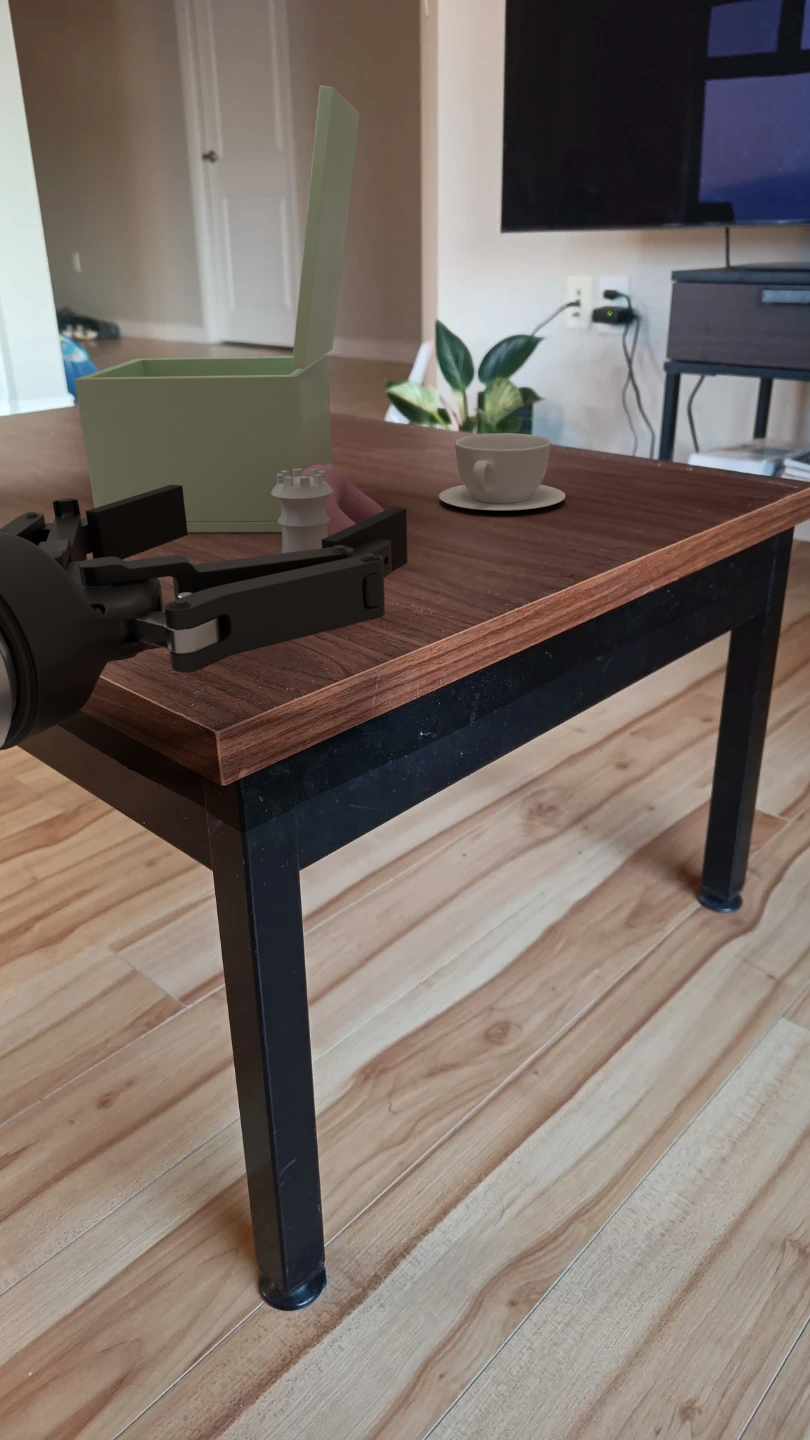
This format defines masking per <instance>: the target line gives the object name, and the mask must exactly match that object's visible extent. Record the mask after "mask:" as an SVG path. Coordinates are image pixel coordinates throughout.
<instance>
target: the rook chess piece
mask: <svg viewBox="0 0 810 1440" xmlns="http://www.w3.org/2000/svg"><path fill="white" fill-rule="evenodd" d="M332 492H333V490H332V488H331V487H330V486H329V485H328V484H327V482H326V480H325V472H324V471H318V469H309V477H308V476H302V468H300V469H293V477H289V473H288V471H286V470H284V471H281V472H279V474H277V484H276V486H275V487H274V489H273V490H272V492H271V494H272V495H273V497H274V498H275V499H276V500H277V502H278V503H279V504H280V506H281V516H280V518H279V519H278V523H279V524H280V525H281V526H282V532H281V536H282V537H281V538H282V541H281V542H282V543H281V554H282V553H290V552H298V551H306V550H314V549H321V548H322V539H324V538H327V537H328V534H327V523H328V522H329V520H330V518H329V516H328V515H327V514H326V510H325V505H326V502H327V500H328V498H329V497H330V495H331V493H332Z"/></svg>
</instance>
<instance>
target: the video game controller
mask: <svg viewBox="0 0 810 1440" xmlns="http://www.w3.org/2000/svg"><path fill="white" fill-rule="evenodd" d="M309 469H318V471H324V472H325V480H326V482H327V484H328V485H329V486H330V487H331V488H332V490H333V492H332V493H331V495H330V497H329V498H328V500H327V502H326V505H325V510H326V514H327V515H328V516H329V518H330V520H329V522H328V523H327V534H328V537H329V536H331V535H333V534H335V533H337V532H340V531H342V530H344V529H346V528H348V527H350V526H353V525H355V524H357V523H359V522H361V521H364V520H366V519H368V518H370V517H372V516H374V515H377V514H379V513H381V512H383V511H385V510H384V509H383V507H382V506H381V505H380V504H379V503H378V502H376V501H375V500H374V499H372V498H371V497H370V496H368V495H367V494H365V493H363V491H361V490H359V488H357V487H356V486H355V485H354V484H352V482H350V480H349V479H348V478H347V477H346V476H345V474H343V473H342V472H341V471H340V470H338V469H335V468H334V466H333V467H332V465H331V463H328V465H321V464H316V465H312V466H310V467H308V468H306V469H304V470H302V476H308V477H309Z"/></svg>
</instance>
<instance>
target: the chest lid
mask: <svg viewBox="0 0 810 1440" xmlns="http://www.w3.org/2000/svg"><path fill="white" fill-rule="evenodd" d="M360 115H361V113H360V111H358V110H357V108H355V107H354V105H352V104H351V103H350V102H349V101H348V100H347V99H346V98H345V97H344V96H343V95H341V93H340V92H339V91H338V90H337V89H335V87H333V86H327V85H319V91H318V102H317V110H316V120H315V121H316V122H315V132H314V139H313V140H314V141H313V151H312V159H311V160H312V161H311V170H310V171H311V172H310V173H311V174H310V181H309V191H308V201H307V211H306V221H305V231H304V239H303V240H304V241H303V251H302V261H301V271H300V280H299V291H298V301H297V309H296V310H297V311H296V321H295V329H294V339H293V349H292V356H293V359H292V367H293V368H298V369H305V368H306V367H308V366H309V365H311V364H312V363H313V362H315V361H316V360H318V359H319V358H321V357H322V356H326V355H327V354H329V352H331V351H332V350H333V346H334V339H335V331H336V330H335V329H336V321H337V315H338V314H337V313H338V304H339V295H340V288H341V287H340V286H341V278H342V269H343V261H344V252H345V245H346V244H345V242H346V235H347V227H348V220H349V219H348V217H349V210H350V200H351V191H352V183H353V176H354V175H353V174H354V167H355V157H356V151H357V150H356V149H357V140H358V133H359V125H360V124H359V123H360Z"/></svg>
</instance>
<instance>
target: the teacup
mask: <svg viewBox="0 0 810 1440" xmlns="http://www.w3.org/2000/svg"><path fill="white" fill-rule="evenodd" d="M551 446H552V441H551V439H549V438H547V437H545V436H542V435H541V436H540V435H535V434H528V433H514V432H513V433H511V432H496V433H480V434H474V435H468V436H463V437H460V438H457V440H455V442H454V447H455V455H456V464H457V470H458V474H459V478H460V479H461V481H462V484H461V485H457V486H451V487H449V488H447V489H445V490H442V491H441V492H440V493H439V494H438V498H439V499H440V501H442V502H444V503H446V504H448V505H450V506H451V505H452V506H454V507H455V506H456V507H458V508H463V509H471V510H478V511H479V510H481V511H522V510H523V511H524V510H532V509H538V508H539V509H540V508H544V507H550V506H552V505H555V504H558V503H561V502H562V501H563V500H565V498H566V493H564V491H563V490H560V489H558V488H556V487H553V486H549V485H546V484H545V485H544V484H542V482H543V480H544V478H545V477H546V473H547V469H548V465H549V459H550V452H551Z"/></svg>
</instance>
